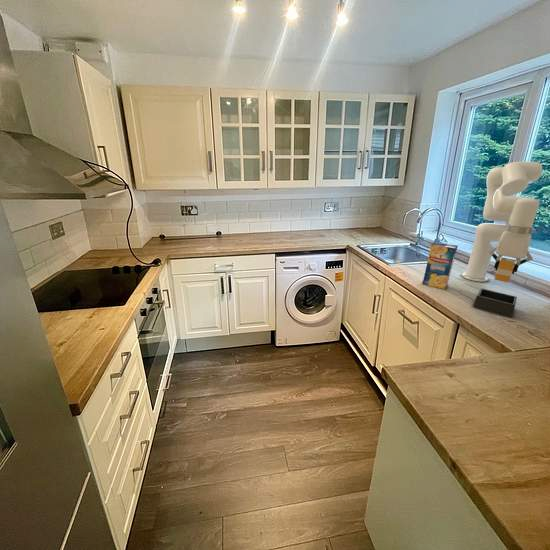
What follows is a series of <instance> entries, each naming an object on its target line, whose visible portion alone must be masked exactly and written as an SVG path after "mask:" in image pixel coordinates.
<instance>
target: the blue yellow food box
mask: <svg viewBox="0 0 550 550" xmlns="http://www.w3.org/2000/svg"><path fill="white" fill-rule="evenodd" d="M458 247H459V245H456V244H450V243H444V242H437V241H433V242H432V243H431V244H430V249H429V254H428V259H427V262H426V267H425V271H424V276H423V279H422V284H423V285H426V286H430V287H434V288H437V289H441V290H442V289H443V290H446V288H447V287H448V285H449V281H450V278H451V273H452V270H453V266H454V262H455V257H456V254H457V251H458V250H457V249H458Z"/></svg>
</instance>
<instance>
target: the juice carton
mask: <svg viewBox="0 0 550 550" xmlns="http://www.w3.org/2000/svg"><path fill="white" fill-rule="evenodd" d="M515 264H516V259H515V258H510V257H504V256H502V257H501V259H500V263H499V266H498V269H497V271H496V272H495V276H494V278H493V280H495V281H500V282H504V283H509V282H510V280H511V277H512V275H513V274H512V271H513V268H514V265H515Z"/></svg>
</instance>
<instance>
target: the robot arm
mask: <svg viewBox="0 0 550 550" xmlns="http://www.w3.org/2000/svg"><path fill="white" fill-rule="evenodd" d="M542 174H543V166H542V164H541V163H540V162H538V161H511V162H508V163H506V164H505V165H504V166H496V167H493V168H491V169H490V170H489V171H488V172H487V175H486V181H485V182H486V191H487V194H486V198H485V202H484V207H483V211H482V218H483V219H484V220H486V221H492V222H482V223H480V224H478V225H477V226H476V228H475V232H474V240H473V245H472V249H471V252H470V257H469V259H468V264H467V266H466V271H464V272H462V273H461V276H462V277H463V278H464V279H466V280H469V281H473V282H480V283H485V282H488V281H489V277H487V273H488V269H489V266H490V264H491V260H492V258H493V259H494V260H495V262H494V265H493V268H494V271H496V272H497V269H498V266H499V263H500V260H501V258H502V257H506V258H511V259H515V260H516V262H515V265H514V268H513V271H512V274H511V275H514V274H515V273H517V272H518V270H519V266H521V265H523V264H525V263H528V262H531V261H533V259H534V258H533V256H532V255H531V253H530V251H529V249H530V245H531V241H532V234H530V233H536V228H533V226H534V225H533V224H534V222H535V219H536V216H537V213H538V210H539V207H540V204H541V203H540V200H538V199H536V198H534V197H529V196H515V195H518V194H520V193H522V192H524V191H525V190H526V189H527V188H528V186H529V184H532V183H534V182H536V181H538V180H539V179H540V178H541V176H542ZM493 222H503V223H493ZM504 223H505V224H504ZM491 242H495V243H497V245H496V246H495V247H493V245H492V243H491Z"/></svg>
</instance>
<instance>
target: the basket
mask: <svg viewBox="0 0 550 550" xmlns="http://www.w3.org/2000/svg"><path fill="white" fill-rule="evenodd" d="M517 299H518V296H516V295H511V294H507V293H503V292H500V291H499V292H498V291H495V290H490V289H486V288H483V287H482V288H480V289H479V290H478V293H477V294H476V297H475V301H474V303H473V308H475V309H479V310H482V311H486V312H489V313H493V314H497V315H501V316H505V317H507V318H512V316H513V313H514V310H515V308H516V304H517Z"/></svg>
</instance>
